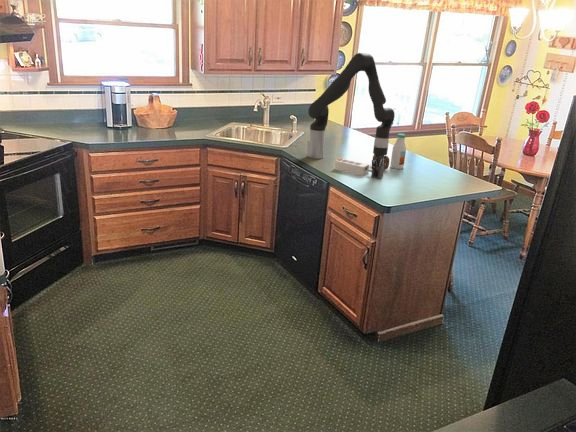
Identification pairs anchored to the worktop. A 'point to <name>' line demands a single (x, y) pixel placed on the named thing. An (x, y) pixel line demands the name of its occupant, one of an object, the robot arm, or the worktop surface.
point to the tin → (385, 162)
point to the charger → (380, 172)
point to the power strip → (351, 166)
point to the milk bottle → (398, 152)
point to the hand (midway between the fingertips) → (377, 175)
